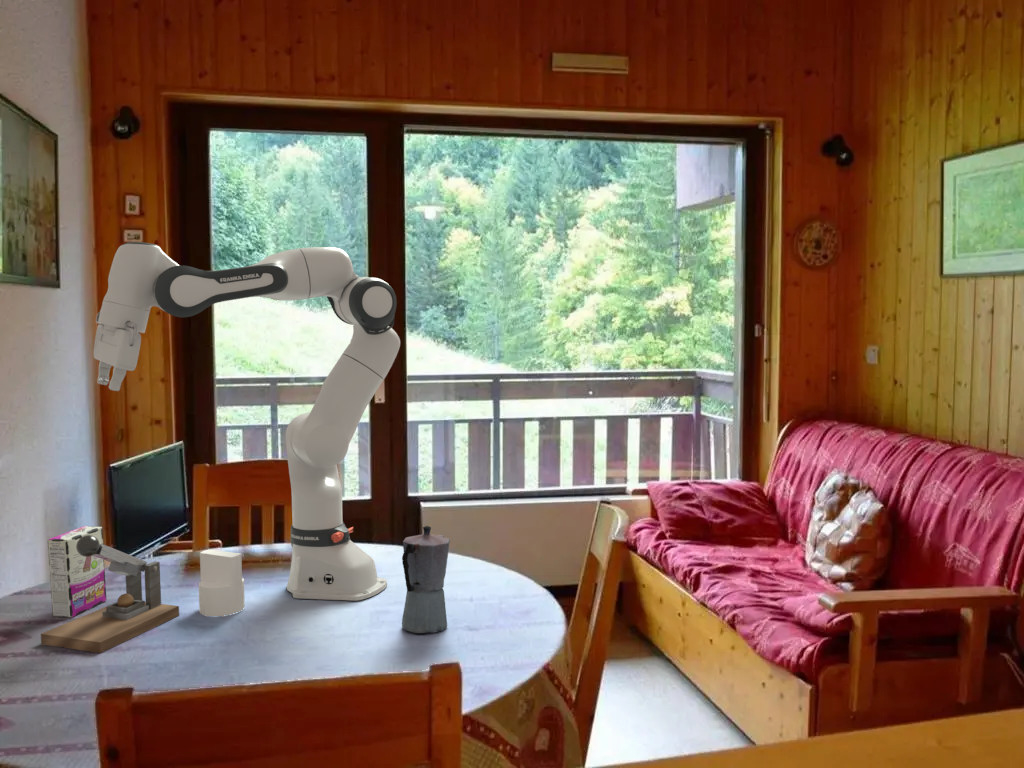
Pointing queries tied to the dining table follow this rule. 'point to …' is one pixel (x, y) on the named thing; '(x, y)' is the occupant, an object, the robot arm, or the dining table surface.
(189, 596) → the dining table surface
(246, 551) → the dining table surface
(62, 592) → the candy bar box
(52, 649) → the dining table surface
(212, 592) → the white stepped block
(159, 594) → the nutcracker bench
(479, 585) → the dining table surface
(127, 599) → the nut
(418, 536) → the moka pot
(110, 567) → the lever
